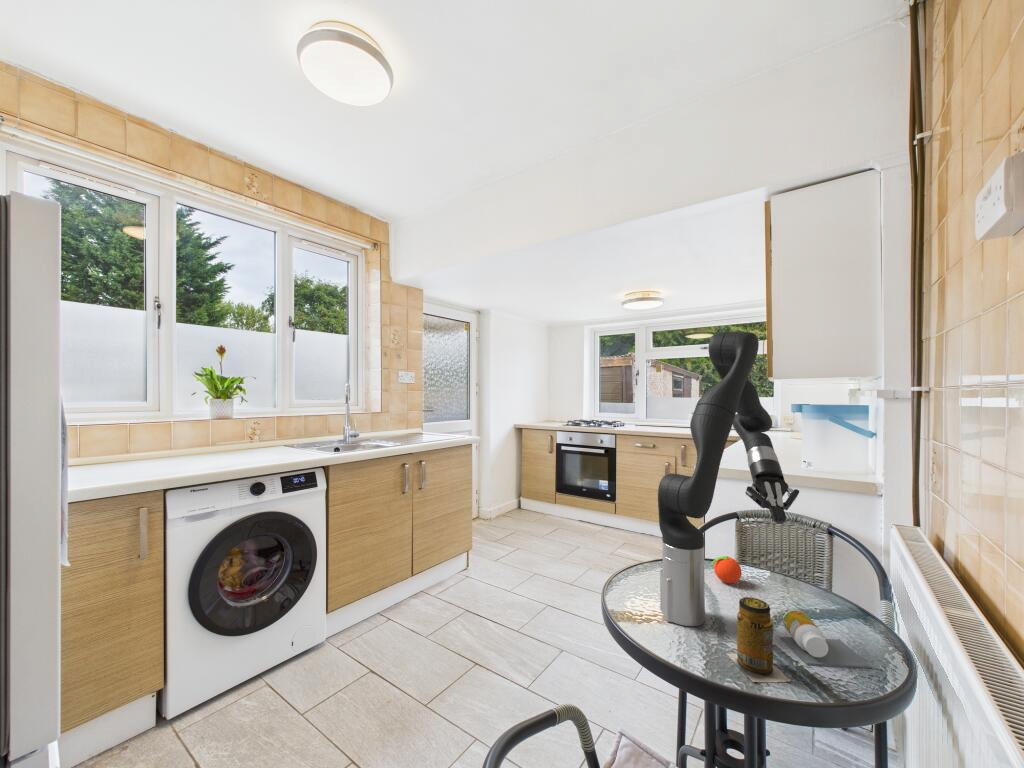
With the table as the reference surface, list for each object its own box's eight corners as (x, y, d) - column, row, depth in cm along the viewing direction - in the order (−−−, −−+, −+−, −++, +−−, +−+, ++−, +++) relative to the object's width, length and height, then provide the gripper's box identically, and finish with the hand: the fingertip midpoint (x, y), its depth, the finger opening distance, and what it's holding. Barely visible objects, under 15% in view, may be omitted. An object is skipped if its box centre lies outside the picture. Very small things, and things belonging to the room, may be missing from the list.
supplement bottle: (815, 619, 91) (838, 645, 81) (800, 639, 91) (822, 667, 82) (791, 603, 92) (811, 627, 82) (776, 623, 92) (795, 649, 83)
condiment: (761, 653, 85) (760, 594, 85) (791, 682, 77) (790, 615, 77) (726, 654, 85) (725, 594, 85) (752, 683, 76) (751, 616, 77)
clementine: (716, 587, 114) (716, 561, 115) (706, 576, 121) (705, 551, 122) (746, 588, 114) (746, 561, 114) (734, 577, 121) (733, 552, 121)
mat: (806, 665, 81) (806, 663, 81) (780, 638, 90) (780, 636, 90) (872, 668, 80) (872, 666, 80) (839, 641, 89) (839, 639, 89)
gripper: (740, 456, 117) (754, 512, 105) (794, 459, 114) (815, 516, 102) (735, 472, 122) (748, 527, 110) (787, 475, 119) (806, 532, 107)
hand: (780, 522), depth 106 cm, fingers closed
